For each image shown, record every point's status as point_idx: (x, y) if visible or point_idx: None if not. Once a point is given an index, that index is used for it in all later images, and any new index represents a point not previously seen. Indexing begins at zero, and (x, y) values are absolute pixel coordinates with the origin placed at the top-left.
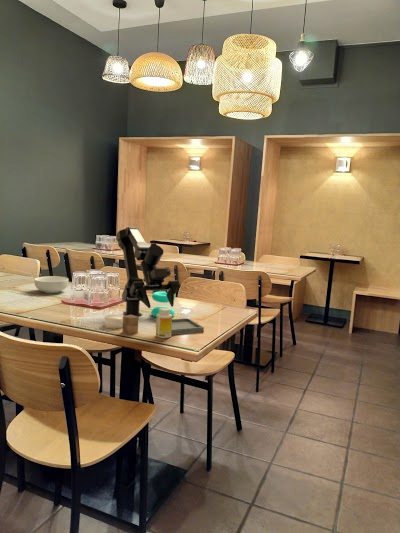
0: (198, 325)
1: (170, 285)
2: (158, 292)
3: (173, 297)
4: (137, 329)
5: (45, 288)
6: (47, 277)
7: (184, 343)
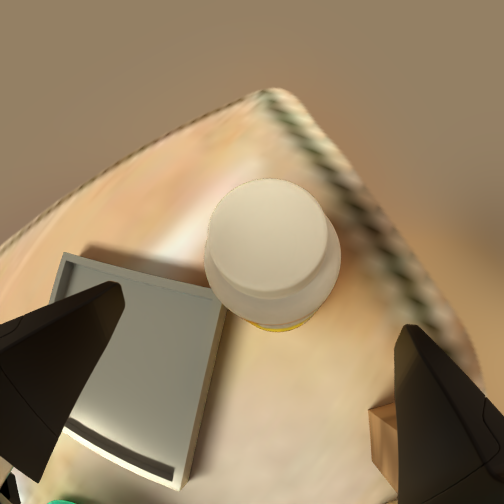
0: (57, 293)
1: None
2: None
3: (33, 313)
4: (376, 412)
5: None
6: None
7: (251, 161)
